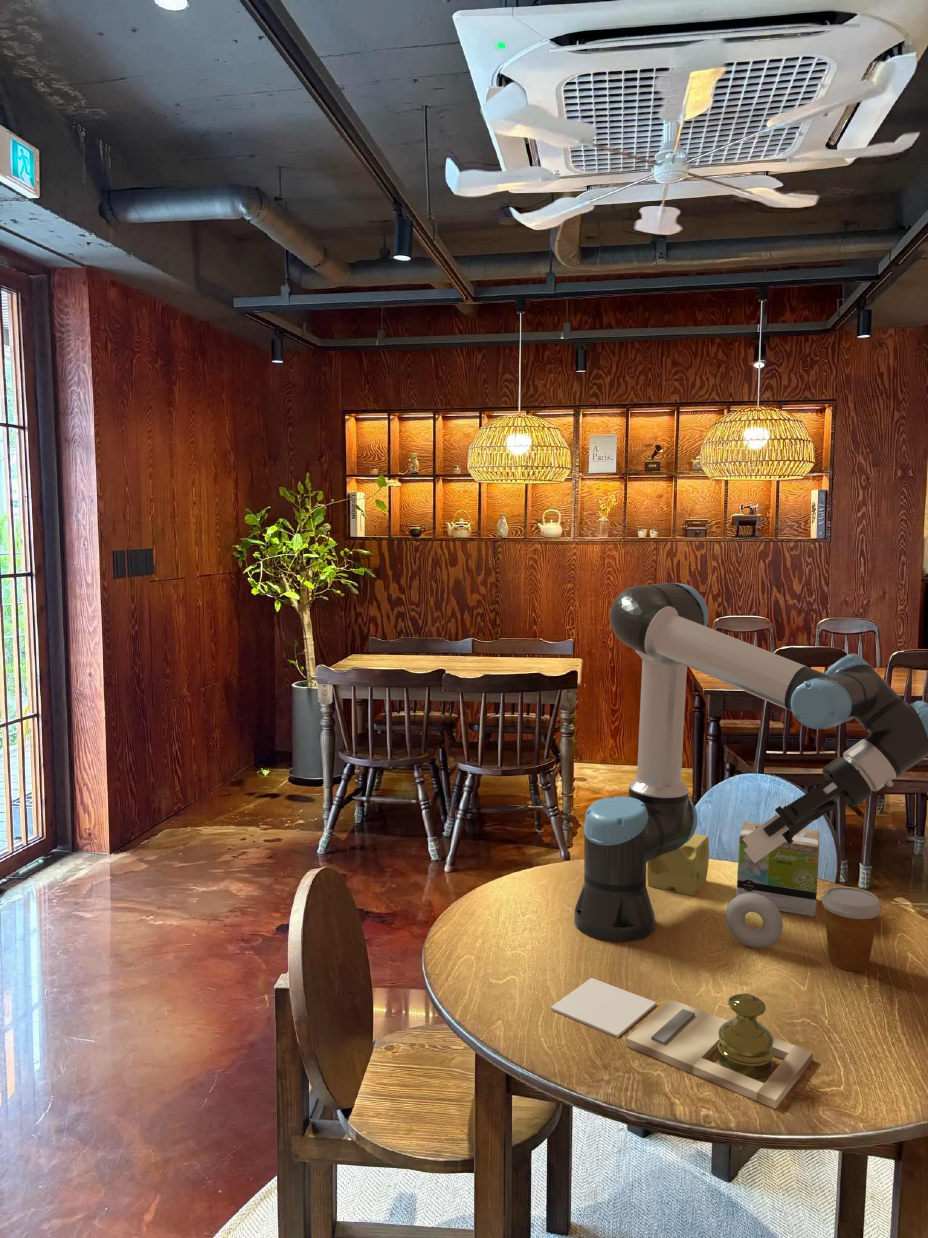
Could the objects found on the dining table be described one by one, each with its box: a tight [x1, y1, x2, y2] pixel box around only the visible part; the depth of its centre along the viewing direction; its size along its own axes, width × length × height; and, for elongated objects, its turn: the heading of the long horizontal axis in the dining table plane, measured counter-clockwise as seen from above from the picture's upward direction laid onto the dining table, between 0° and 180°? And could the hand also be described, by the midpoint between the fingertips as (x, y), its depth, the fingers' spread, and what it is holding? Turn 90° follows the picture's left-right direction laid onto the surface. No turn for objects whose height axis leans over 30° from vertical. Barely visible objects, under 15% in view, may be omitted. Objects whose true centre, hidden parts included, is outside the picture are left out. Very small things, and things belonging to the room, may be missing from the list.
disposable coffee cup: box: [821, 885, 882, 972], centre depth 153 cm, size 10×10×12 cm
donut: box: [725, 893, 784, 949], centre depth 159 cm, size 10×4×10 cm, turn 59°
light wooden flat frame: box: [625, 998, 814, 1110], centre depth 127 cm, size 22×14×2 cm, turn 50°
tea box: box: [736, 820, 820, 917], centre depth 178 cm, size 15×10×15 cm, turn 68°
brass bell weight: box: [717, 992, 774, 1079], centre depth 124 cm, size 7×7×10 cm
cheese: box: [646, 833, 710, 897], centre depth 188 cm, size 10×11×10 cm
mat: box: [550, 977, 657, 1038], centre depth 139 cm, size 12×12×1 cm
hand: (748, 852), depth 141 cm, fingers open, 13 cm apart
